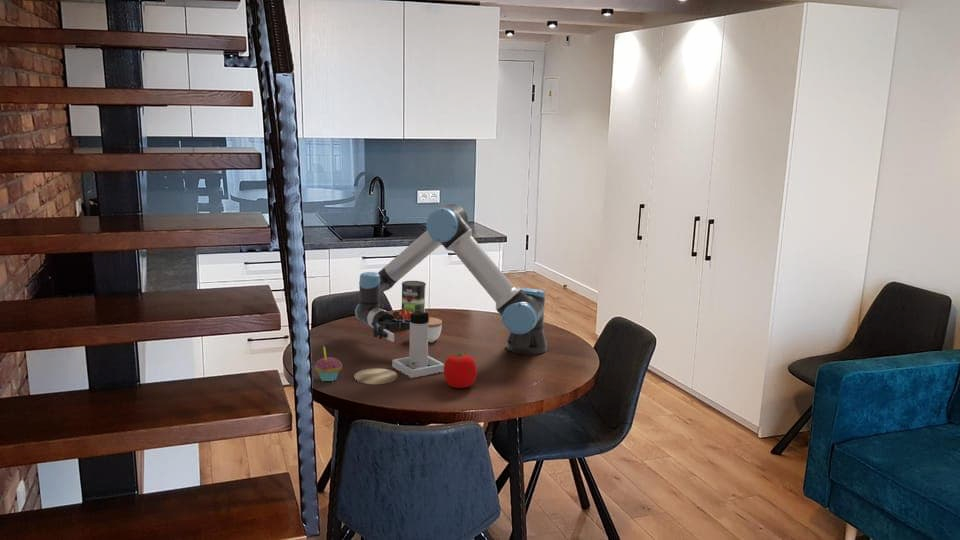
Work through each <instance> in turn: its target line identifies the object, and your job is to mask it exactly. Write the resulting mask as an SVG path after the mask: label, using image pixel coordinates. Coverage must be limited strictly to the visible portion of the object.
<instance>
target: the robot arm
mask: <svg viewBox="0 0 960 540" xmlns="http://www.w3.org/2000/svg"><path fill="white" fill-rule="evenodd" d="M468 223H469V216H468V214H467V212H466V210H465V209H464V208H463V207H462V206H461V205H459V204H454V203H453V204H452V203H451V204H447V205H444V206H440V207H438V208H436V209H434V210H433V211H432V212H431V213H430V214H429V215H428V217H427V219H426V223H425V226H426V228H425V229H426V230H425V231H424V232H423V233H422V234H420V236H419V237H418V238H416V239H415V240H413V242H411V244H409V245H408V246H407V247H406V248H405V249H404V250H402V251H401V252H400V253H398V254H397V256H395V257H394V258H393V259H392V260H391V261H390V262H389V263H388V264H386V265H385V266H384V267H383V268H382V269H380V270H379V271H378V272H374V271H365V272H362V273H360V275H359V282H358V284H359V287H358V288H359V303H358V304H357V305H356V307H355V309H354V314H355V318H357V320H359V321H360V322H361V323H363V324H366V325H368V326H369V327H371V329H370V330H371V331H372V332H373V333H372V334H373V335H372V336H373V338H377V337H378V339H379V340H381V339H383V338H384V339H386V340H387V341H389V342H392V343H394V342H395V333H393V332H392V331H402V330H409V331H410V320H408V319H405V318H403V319H402V320H397V319H395V317H394V316H393V313H391V312H389V311H387V310H385V309H383V308H380V306H381V305H380V303H381V294H382V293H384V292H386V291H389V290H390V289H392V288H393V287H394V285H395V284H397V282H398V281H400V279H402V278H403V277H404V276H405V275H407V274H408V273H409V272H411V271H412V270H413V269H414V268H416V266H417V265H419V264H420V263H421V262H422V261H423V260H424V259H425V258H427V257H428V256H429V255H430V254H432V253H433V252H434V251H435V250H436V249H437V248H439V247H440V246H441V245H442V246H443V247H444V249H445V250H446V251H452V252H453V253H454V254H455V255H456V256H457V258H458V259H459V260H460V261H461V262H462V263H463V265H464V266H465V267H466V269H467V270H468V271H469V272H470V273H471V275H472V276H473V277H474V278H475V280H476V281H477V282H478V283H479V284H480V286H482V288H483V289H484V290H485V292H486V293H487V294H488V295H489V296H490V297H491V299H492V300H493V301H494V302H495V310H496V311H497V313H498V314H499V315H500V316H501V319H502V323H503V326H504V327H505V329H506V330H508V331H509V332H510V333H509V335H508V337H507V340H506V349H507V350H508V351H509V352H512V353H515V354H521V355H539V354H543V353H546V351H547V349H548V348H547V347H548V343H547V338H546V335H545V331H544V321H545V320H544V319H545V301H546V293H545V291H544V290H542V289H539V288H528V287H515V286H514V285H513V283H512V282H510V280H509V279H508V278H507V277H506V276H505V274H504V273H503V272H502V271H501V270H500V268H499V267H498V265H496V263H495V262H494V261H493V260H492V259H491V257H490V256H489V255H488V253H487V252H486V251H485V250H484V249H483V248H482V246H481V245H480V243H478V242H477V240H476V239H475V238H474V237H473V234H472V232H473V229H472V228H471V226H470V225H469V224H468ZM400 324H401V327H400V328H399V326H400ZM428 336H429V328H428Z"/></svg>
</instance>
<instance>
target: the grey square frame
mask: <svg viewBox="0 0 960 540" xmlns="http://www.w3.org/2000/svg"><path fill="white" fill-rule="evenodd" d="M391 363H392V364H391V365H392V366H391V367H392V368H394V369H396V370H397V371H399V372H400V371H401V372H400V373H402V374H404V375H406V376H407V375H408V376H407V377H409V378H411V379H414V377H415V378H419V376H420V377H424V376H428V375H429V374H430V375H434V373H435V374H440V373H444V364H445V363H443V362H441V361H439V360H438V359H435V358H433V357H432V356H429V355H428V364H427V365H429V366H428V367H423V368H418V369H411V368H409V356H406V357H402V358H401V357H400V358H396V359H395V358H394V359H392V362H391ZM439 372H440V373H439ZM430 375H429V376H430Z"/></svg>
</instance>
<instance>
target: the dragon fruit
mask: <svg viewBox="0 0 960 540" xmlns="http://www.w3.org/2000/svg"><path fill="white" fill-rule="evenodd" d="M411 313H412V312H411V311H408V309H404V310H402V308H400V309H399V310H396V311H394V312H392V315H393V316H394V317H395V319H397V320H402V319H403V318H405V319H408V320H410V314H411ZM400 327H401V324H400V326H399V328H400Z"/></svg>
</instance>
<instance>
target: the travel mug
mask: <svg viewBox="0 0 960 540" xmlns="http://www.w3.org/2000/svg"><path fill="white" fill-rule="evenodd" d="M429 317H430V314H429V312H425V313H415V314H414V313H411V314H410V330H409V346H408V347H409V351H408V352H409V353H408V355H409V356H408V357H409V365H408V367H409V368H411V369H418V368H423V367H428V356H429V343H428V327H429V324H428V323H429V321H428V319H429Z"/></svg>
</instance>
